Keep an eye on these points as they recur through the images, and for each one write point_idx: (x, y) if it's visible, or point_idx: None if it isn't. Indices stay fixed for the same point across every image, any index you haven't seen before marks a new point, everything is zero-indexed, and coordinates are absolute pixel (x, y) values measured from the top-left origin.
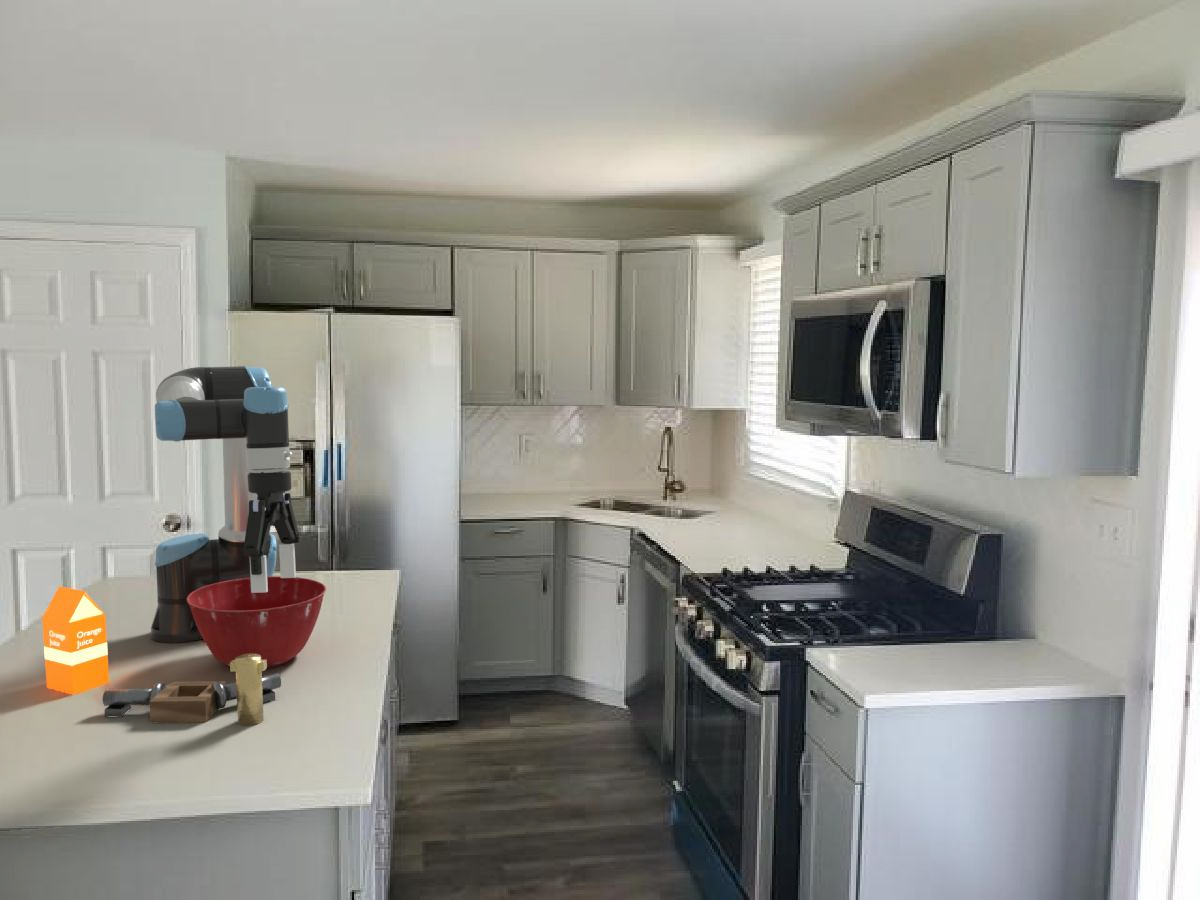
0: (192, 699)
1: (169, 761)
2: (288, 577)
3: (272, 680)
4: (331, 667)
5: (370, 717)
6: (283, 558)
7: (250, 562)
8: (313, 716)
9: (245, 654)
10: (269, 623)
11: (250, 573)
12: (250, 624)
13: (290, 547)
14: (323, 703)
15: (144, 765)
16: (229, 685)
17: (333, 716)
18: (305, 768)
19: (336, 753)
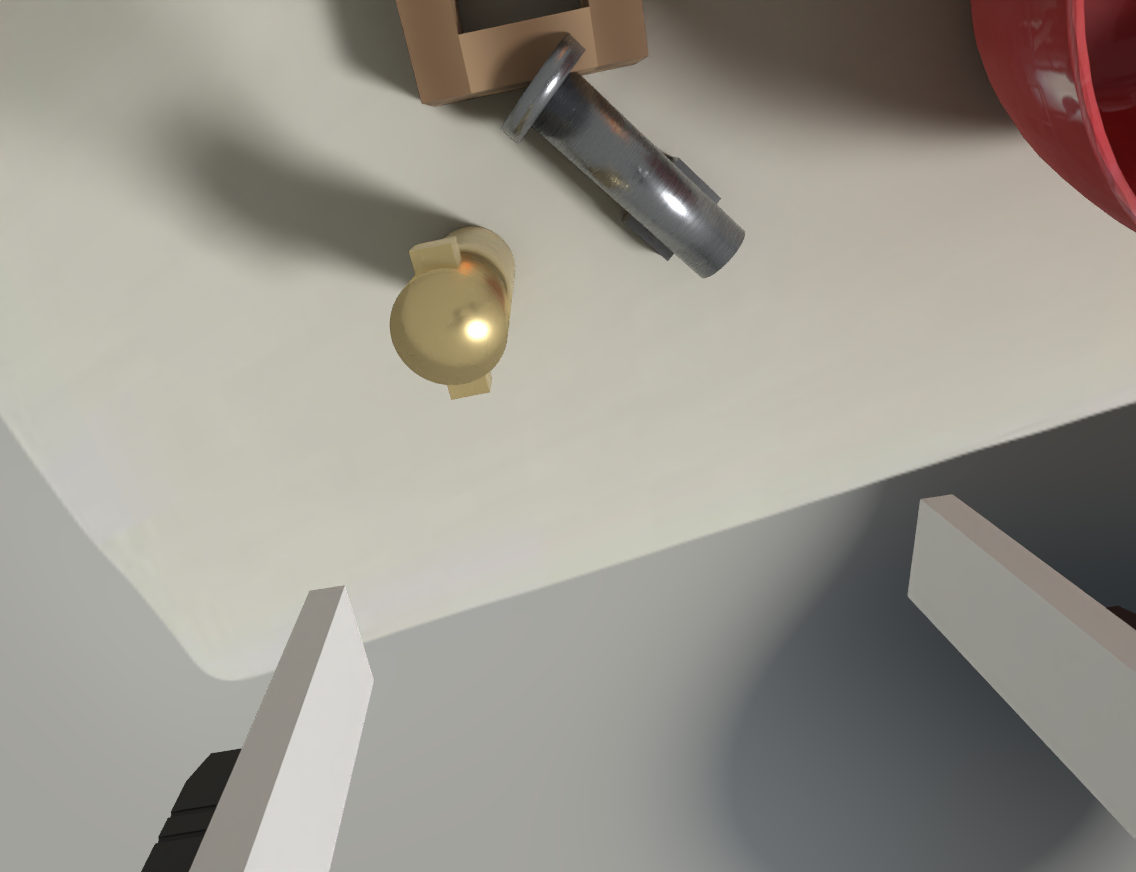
0: (421, 31)
1: (121, 175)
2: (916, 557)
3: (683, 256)
4: (982, 303)
5: (561, 576)
6: (1045, 640)
7: (211, 837)
8: (544, 438)
9: (485, 295)
10: (1049, 119)
11: (257, 719)
12: (1028, 12)
13: (1130, 807)
14: (645, 422)
15: (60, 104)
16: (573, 127)
17: (553, 489)
18: (237, 557)
19: (336, 586)
